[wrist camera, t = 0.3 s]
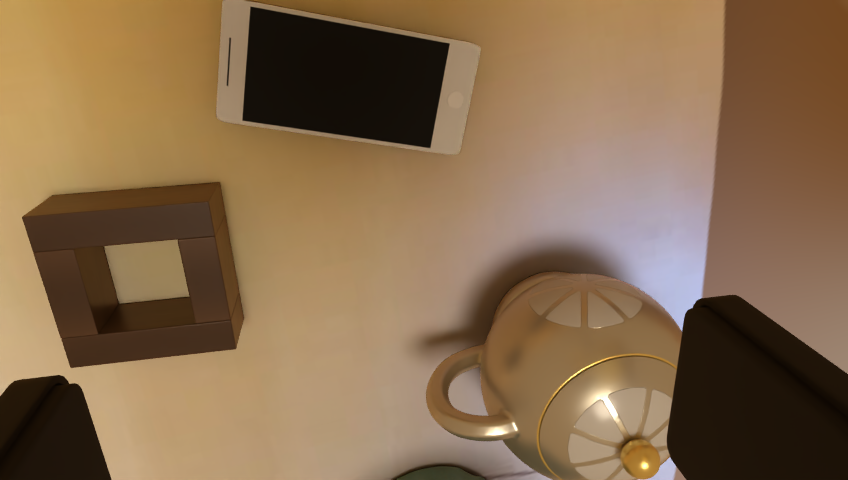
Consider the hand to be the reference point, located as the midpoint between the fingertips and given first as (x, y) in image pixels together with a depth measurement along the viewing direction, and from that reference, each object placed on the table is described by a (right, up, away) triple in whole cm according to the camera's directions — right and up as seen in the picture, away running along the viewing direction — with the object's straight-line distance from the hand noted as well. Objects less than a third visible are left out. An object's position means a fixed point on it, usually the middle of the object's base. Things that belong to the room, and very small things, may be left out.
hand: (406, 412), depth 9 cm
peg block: (-18, +1, +30) cm, 35 cm away
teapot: (+8, -4, +37) cm, 38 cm away
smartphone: (-4, +13, +28) cm, 31 cm away
